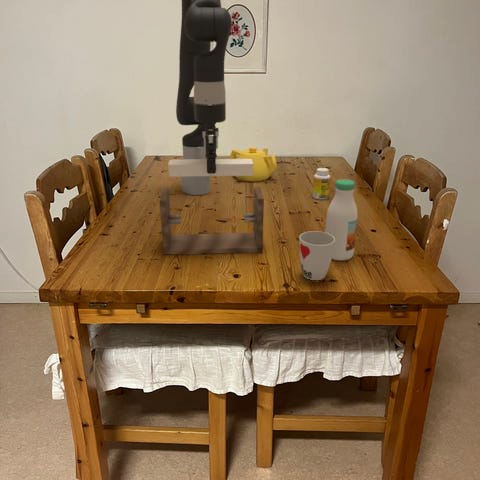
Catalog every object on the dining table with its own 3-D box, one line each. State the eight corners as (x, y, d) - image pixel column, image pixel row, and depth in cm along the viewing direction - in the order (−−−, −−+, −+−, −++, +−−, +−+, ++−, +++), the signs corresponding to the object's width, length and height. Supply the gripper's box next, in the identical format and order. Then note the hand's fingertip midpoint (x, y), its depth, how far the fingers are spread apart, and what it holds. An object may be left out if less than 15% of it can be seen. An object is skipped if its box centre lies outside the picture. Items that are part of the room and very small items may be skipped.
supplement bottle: (319, 201, 160) (322, 172, 156) (309, 196, 164) (311, 168, 160) (331, 198, 163) (334, 169, 158) (321, 194, 167) (323, 166, 163)
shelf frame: (163, 255, 121) (159, 200, 115) (166, 239, 130) (163, 188, 124) (262, 252, 123) (263, 198, 116) (258, 237, 132) (259, 186, 126)
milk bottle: (335, 263, 117) (343, 187, 109) (317, 251, 123) (323, 179, 115) (359, 257, 120) (368, 183, 112) (340, 246, 126) (347, 175, 118)
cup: (294, 268, 114) (296, 231, 110) (326, 267, 115) (329, 230, 111) (300, 285, 107) (303, 245, 103) (335, 283, 108) (339, 244, 104)
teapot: (278, 181, 180) (279, 151, 175) (236, 184, 177) (236, 153, 172) (266, 170, 195) (267, 141, 190) (227, 172, 192) (227, 143, 187)
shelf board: (168, 176, 115) (168, 164, 114) (170, 171, 120) (169, 159, 119) (253, 175, 116) (253, 163, 115) (251, 170, 121) (251, 158, 120)
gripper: (194, 96, 117) (197, 162, 124) (193, 105, 104) (195, 178, 111) (224, 96, 117) (225, 162, 124) (226, 105, 104) (227, 178, 111)
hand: (211, 169), depth 118 cm, fingers closed on shelf board, 5 cm apart
